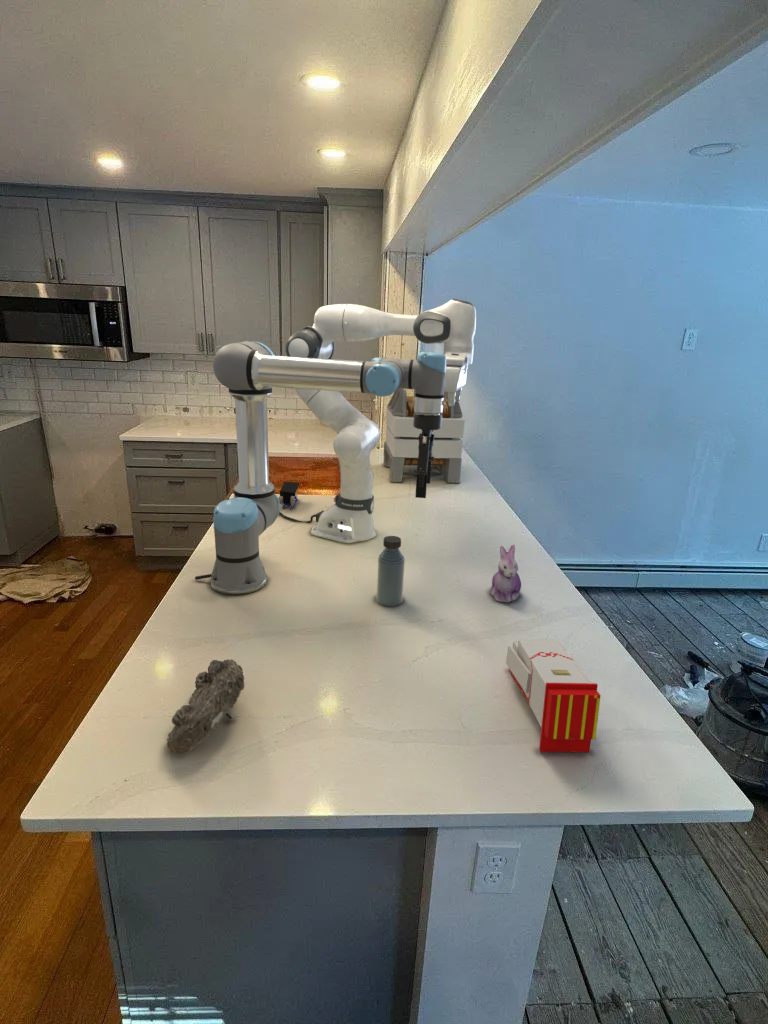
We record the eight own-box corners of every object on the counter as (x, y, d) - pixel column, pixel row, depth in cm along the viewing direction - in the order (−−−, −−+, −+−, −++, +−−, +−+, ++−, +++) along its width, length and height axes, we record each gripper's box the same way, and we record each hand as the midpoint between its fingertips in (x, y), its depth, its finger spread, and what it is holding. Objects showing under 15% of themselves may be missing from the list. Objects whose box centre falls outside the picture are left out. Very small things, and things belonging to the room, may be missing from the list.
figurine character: (295, 514, 218) (300, 497, 231) (295, 496, 214) (299, 480, 228) (278, 513, 217) (283, 497, 231) (277, 495, 214) (283, 480, 227)
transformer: (382, 463, 289) (386, 382, 275) (445, 464, 293) (451, 384, 279) (390, 482, 257) (394, 392, 243) (460, 483, 261) (468, 394, 247)
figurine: (503, 606, 153) (510, 556, 148) (480, 590, 162) (486, 542, 156) (530, 600, 157) (537, 550, 152) (507, 584, 166) (513, 537, 161)
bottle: (402, 606, 151) (405, 546, 145) (375, 605, 151) (378, 545, 145) (402, 594, 158) (405, 535, 152) (376, 592, 158) (379, 534, 152)
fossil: (192, 660, 117) (244, 628, 112) (224, 691, 120) (276, 661, 115) (142, 746, 98) (202, 712, 93) (182, 779, 101) (242, 748, 96)
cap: (400, 549, 147) (401, 542, 146) (383, 548, 147) (383, 541, 146) (400, 542, 151) (401, 536, 151) (383, 541, 151) (383, 535, 151)
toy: (554, 622, 128) (610, 691, 98) (548, 677, 130) (601, 759, 101) (501, 621, 127) (541, 690, 98) (496, 676, 130) (534, 758, 101)
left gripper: (439, 422, 137) (433, 505, 144) (445, 406, 160) (439, 478, 168) (408, 420, 138) (403, 502, 145) (418, 404, 161) (414, 476, 169)
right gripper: (453, 354, 180) (449, 398, 185) (441, 358, 161) (437, 407, 166) (473, 355, 178) (468, 399, 183) (463, 360, 160) (459, 409, 164)
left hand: (422, 490), depth 156 cm, fingers open, 13 cm apart
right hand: (454, 403), depth 174 cm, fingers open, 8 cm apart
